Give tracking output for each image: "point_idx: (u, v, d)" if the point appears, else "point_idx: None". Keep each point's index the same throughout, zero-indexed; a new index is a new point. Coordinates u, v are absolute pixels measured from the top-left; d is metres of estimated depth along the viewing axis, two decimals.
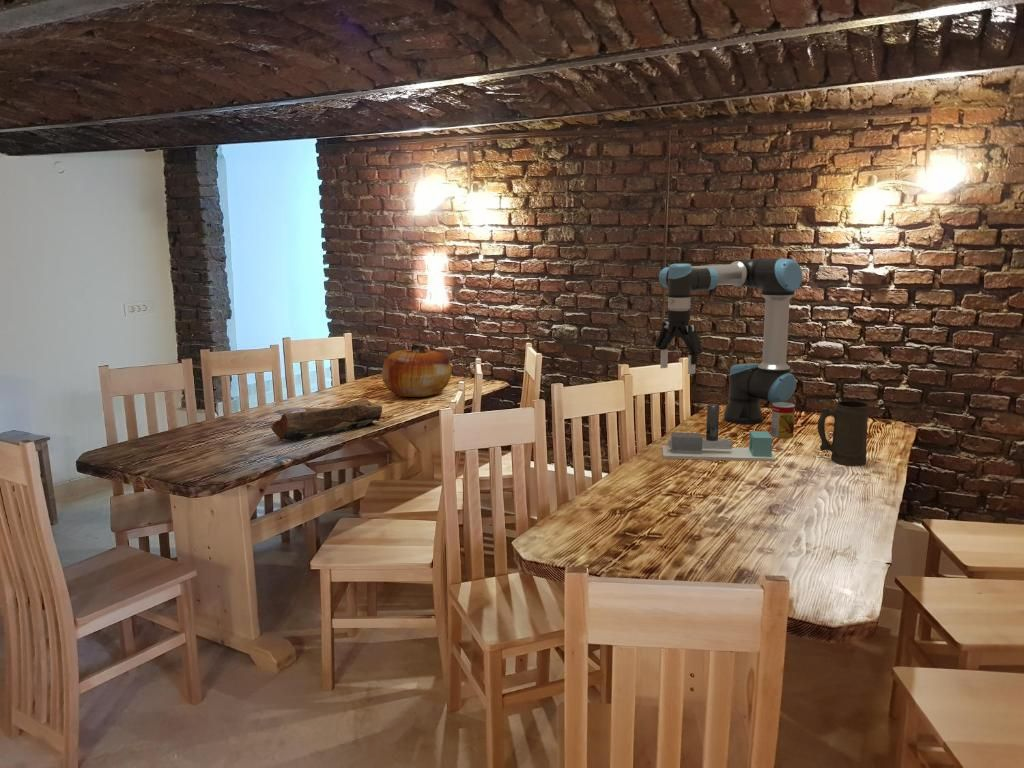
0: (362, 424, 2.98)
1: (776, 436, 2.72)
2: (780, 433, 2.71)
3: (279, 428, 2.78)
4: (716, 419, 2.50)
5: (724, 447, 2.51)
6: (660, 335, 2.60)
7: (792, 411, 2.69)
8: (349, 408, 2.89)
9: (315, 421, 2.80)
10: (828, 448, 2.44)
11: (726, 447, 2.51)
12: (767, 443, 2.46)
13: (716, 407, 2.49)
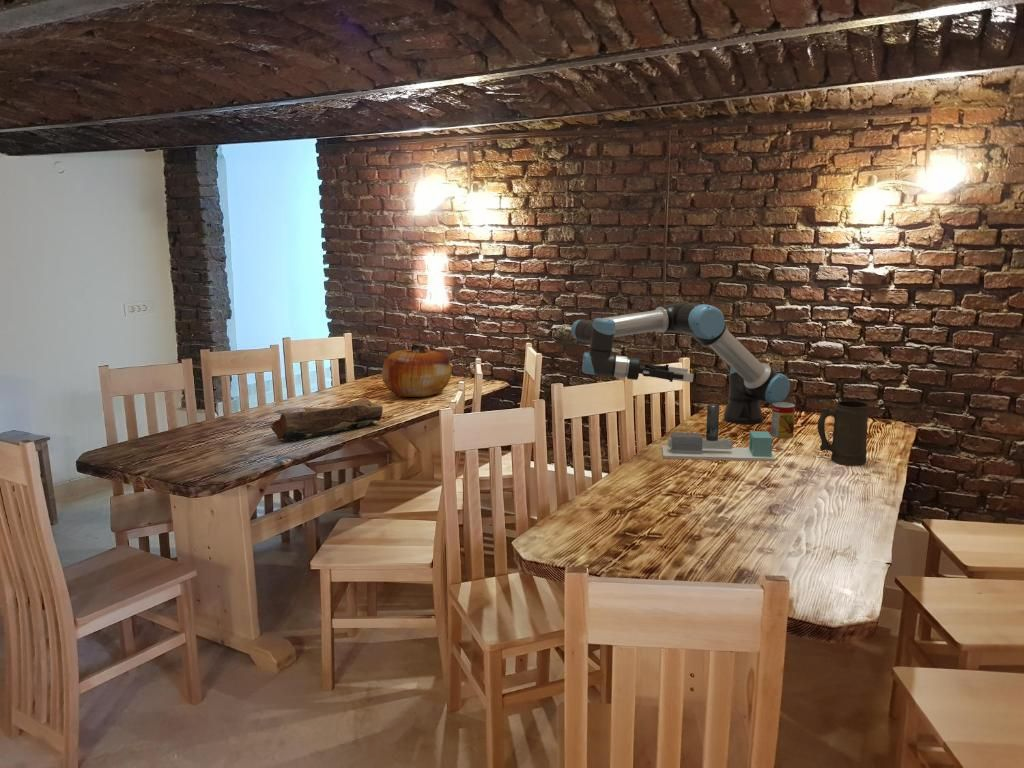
0: (362, 424, 2.98)
1: (776, 436, 2.72)
2: (780, 433, 2.71)
3: (278, 428, 2.78)
4: (716, 419, 2.50)
5: (724, 447, 2.51)
6: None
7: (792, 411, 2.69)
8: (349, 408, 2.89)
9: (314, 421, 2.80)
10: (828, 448, 2.44)
11: (726, 447, 2.51)
12: (767, 443, 2.46)
13: (716, 407, 2.49)
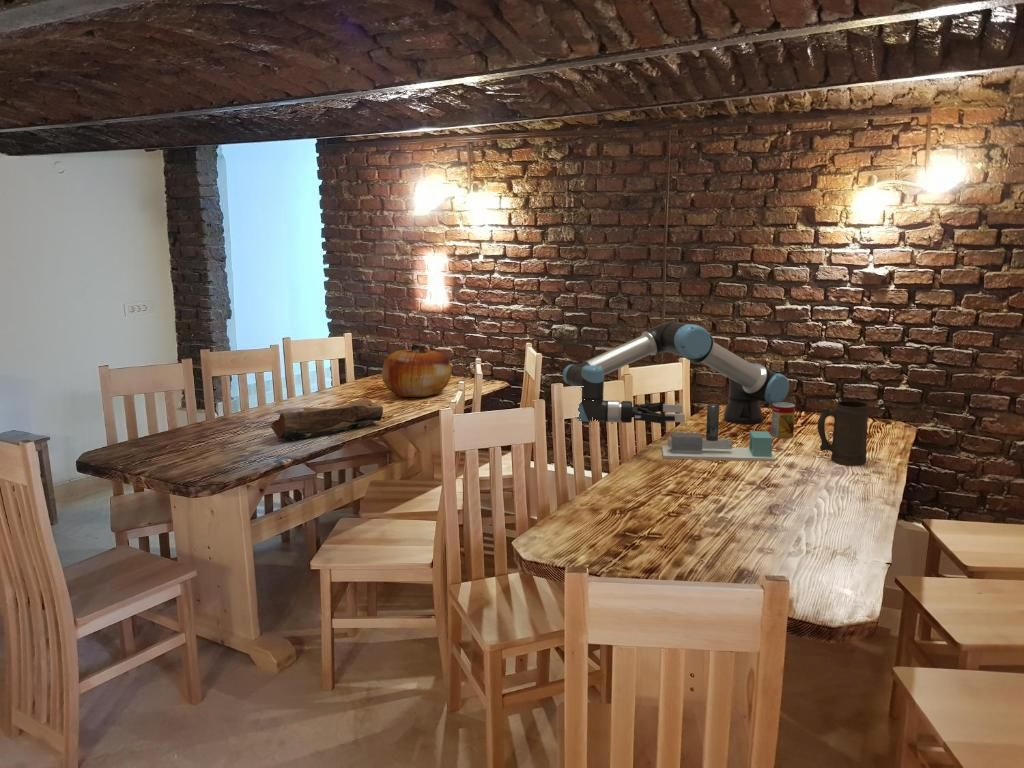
0: (363, 424, 2.97)
1: (776, 436, 2.72)
2: (780, 433, 2.71)
3: (278, 428, 2.79)
4: (716, 419, 2.50)
5: (724, 447, 2.51)
6: None
7: (792, 411, 2.69)
8: (349, 408, 2.89)
9: (314, 421, 2.80)
10: (828, 448, 2.44)
11: (726, 447, 2.51)
12: (767, 443, 2.46)
13: (716, 407, 2.49)
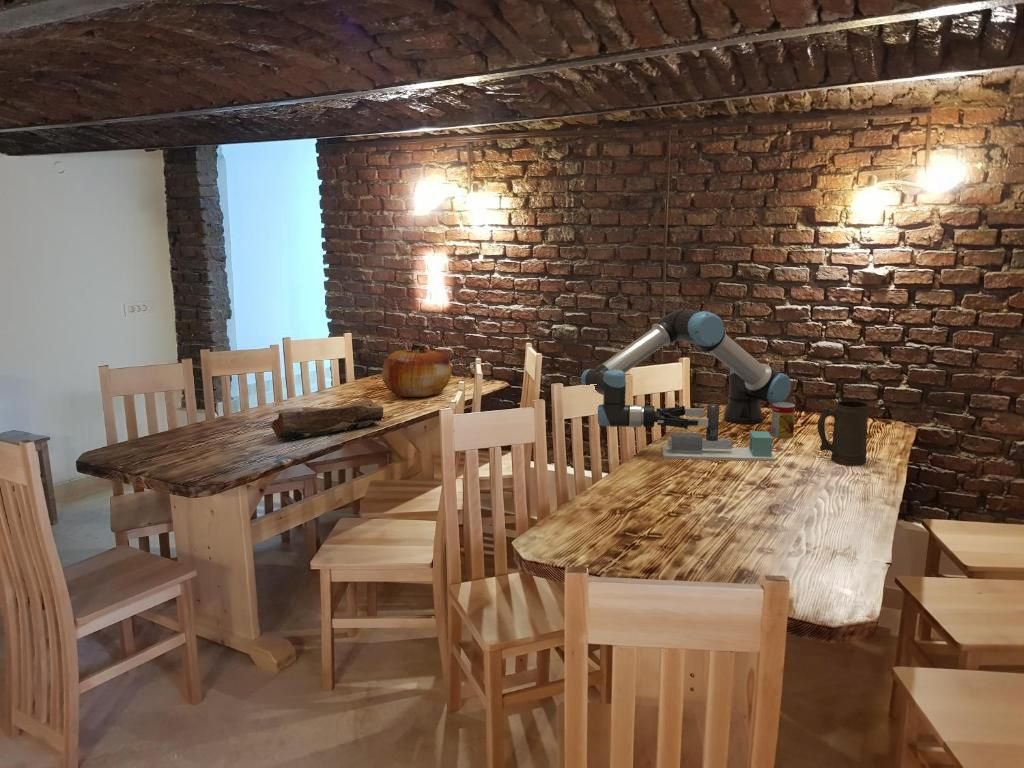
0: (363, 425, 2.97)
1: (776, 436, 2.72)
2: (780, 433, 2.71)
3: (277, 427, 2.80)
4: (716, 419, 2.50)
5: (724, 447, 2.51)
6: None
7: (792, 411, 2.69)
8: (348, 408, 2.88)
9: (312, 421, 2.80)
10: (828, 448, 2.44)
11: (726, 447, 2.51)
12: (767, 443, 2.46)
13: (716, 407, 2.49)
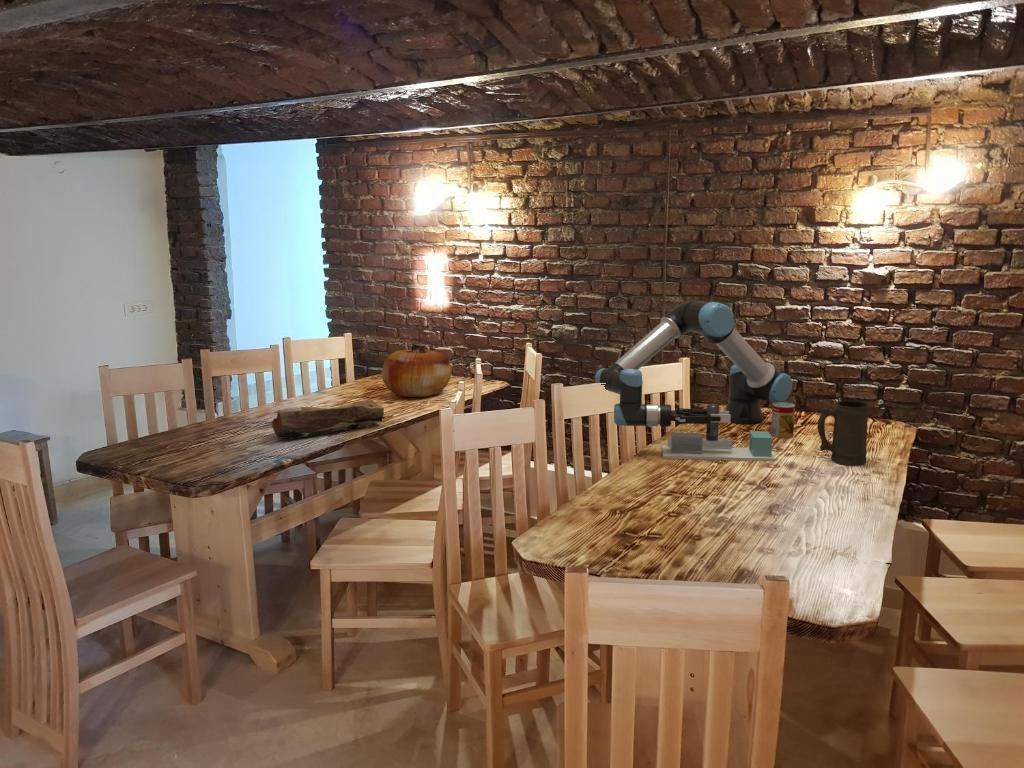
0: (363, 425, 2.96)
1: (776, 436, 2.72)
2: (780, 433, 2.71)
3: (276, 426, 2.81)
4: None
5: (724, 447, 2.51)
6: None
7: (792, 411, 2.69)
8: (347, 409, 2.88)
9: (311, 421, 2.81)
10: (828, 448, 2.44)
11: (726, 447, 2.51)
12: (767, 443, 2.46)
13: (716, 407, 2.49)
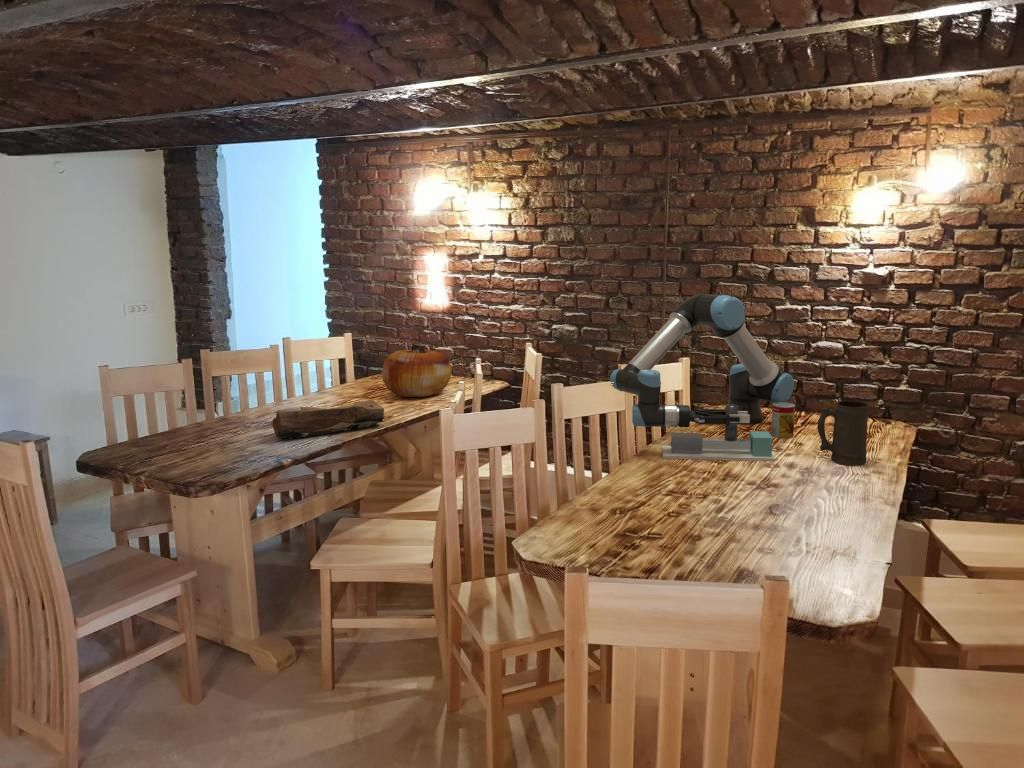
0: (363, 425, 2.96)
1: (776, 436, 2.72)
2: (780, 433, 2.71)
3: (276, 426, 2.82)
4: None
5: (743, 447, 2.50)
6: None
7: (792, 411, 2.69)
8: (347, 409, 2.88)
9: (310, 421, 2.81)
10: (828, 448, 2.44)
11: (745, 447, 2.50)
12: (767, 443, 2.46)
13: (735, 407, 2.48)
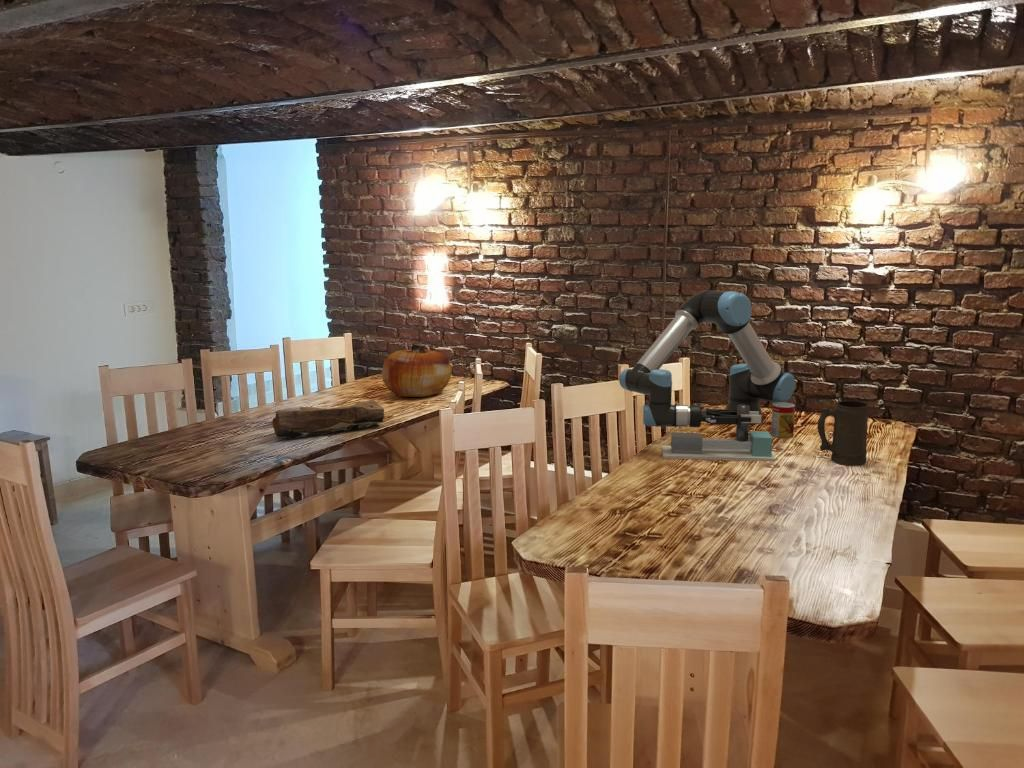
0: (364, 426, 2.96)
1: (776, 436, 2.72)
2: (780, 433, 2.71)
3: (275, 426, 2.82)
4: None
5: None
6: None
7: (792, 411, 2.69)
8: (347, 409, 2.87)
9: (309, 421, 2.81)
10: (828, 448, 2.44)
11: None
12: (767, 443, 2.46)
13: (746, 408, 2.47)
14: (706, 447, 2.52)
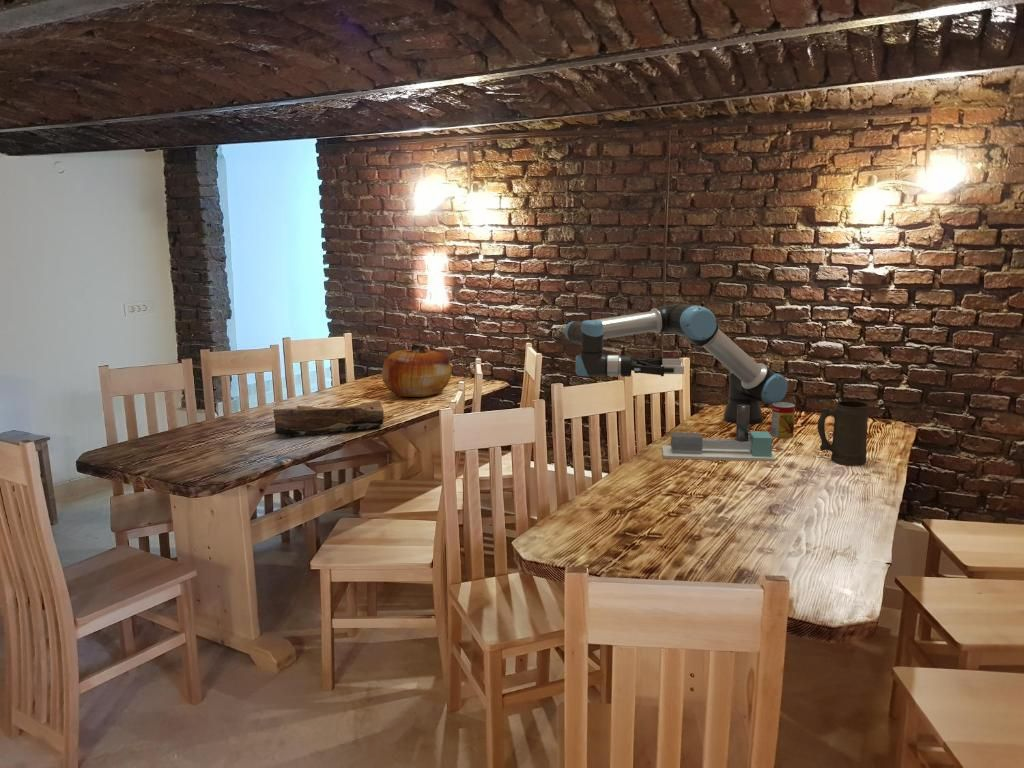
0: (364, 427, 2.94)
1: (776, 436, 2.72)
2: (780, 433, 2.71)
3: None
4: (746, 420, 2.48)
5: None
6: None
7: (792, 411, 2.69)
8: (344, 410, 2.86)
9: (306, 420, 2.82)
10: (828, 448, 2.44)
11: None
12: (767, 443, 2.46)
13: (747, 408, 2.47)
14: (706, 447, 2.52)
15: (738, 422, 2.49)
